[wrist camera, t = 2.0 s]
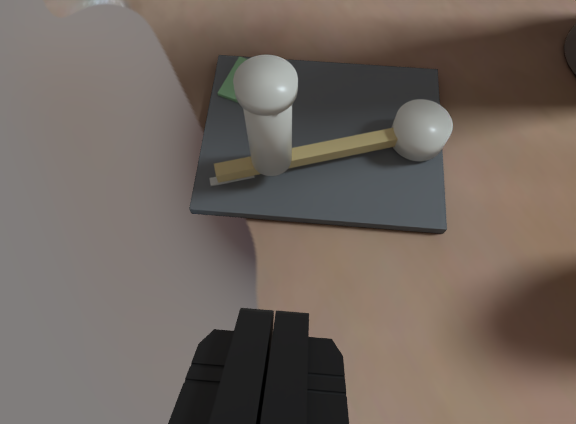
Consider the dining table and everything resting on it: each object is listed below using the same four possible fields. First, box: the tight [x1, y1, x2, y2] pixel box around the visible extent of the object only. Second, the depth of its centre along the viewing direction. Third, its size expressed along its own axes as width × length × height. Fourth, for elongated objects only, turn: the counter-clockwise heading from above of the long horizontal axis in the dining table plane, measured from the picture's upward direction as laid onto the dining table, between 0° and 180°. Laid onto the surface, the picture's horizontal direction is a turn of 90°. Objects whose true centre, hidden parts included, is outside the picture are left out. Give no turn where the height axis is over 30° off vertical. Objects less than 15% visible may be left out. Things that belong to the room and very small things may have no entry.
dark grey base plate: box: [190, 55, 447, 234], centre depth 34 cm, size 14×18×1 cm
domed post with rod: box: [214, 55, 453, 183], centre depth 28 cm, size 17×4×10 cm, turn 103°
